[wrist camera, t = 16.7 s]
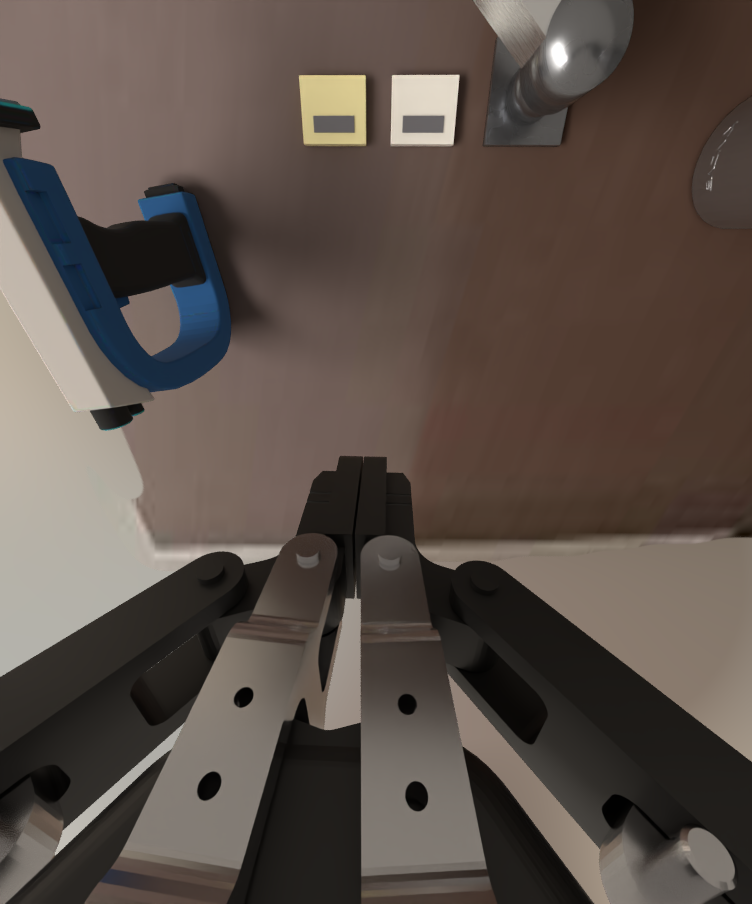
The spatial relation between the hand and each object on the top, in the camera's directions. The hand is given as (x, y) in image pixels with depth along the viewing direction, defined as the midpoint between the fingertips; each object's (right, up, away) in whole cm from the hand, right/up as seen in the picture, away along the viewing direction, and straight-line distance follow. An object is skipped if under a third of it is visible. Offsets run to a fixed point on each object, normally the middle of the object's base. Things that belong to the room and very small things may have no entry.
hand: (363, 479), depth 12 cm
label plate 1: (-3, +28, +17) cm, 33 cm away
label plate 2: (+4, +28, +17) cm, 33 cm away
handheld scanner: (-17, +19, +24) cm, 35 cm away
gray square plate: (+12, +28, +16) cm, 35 cm away
